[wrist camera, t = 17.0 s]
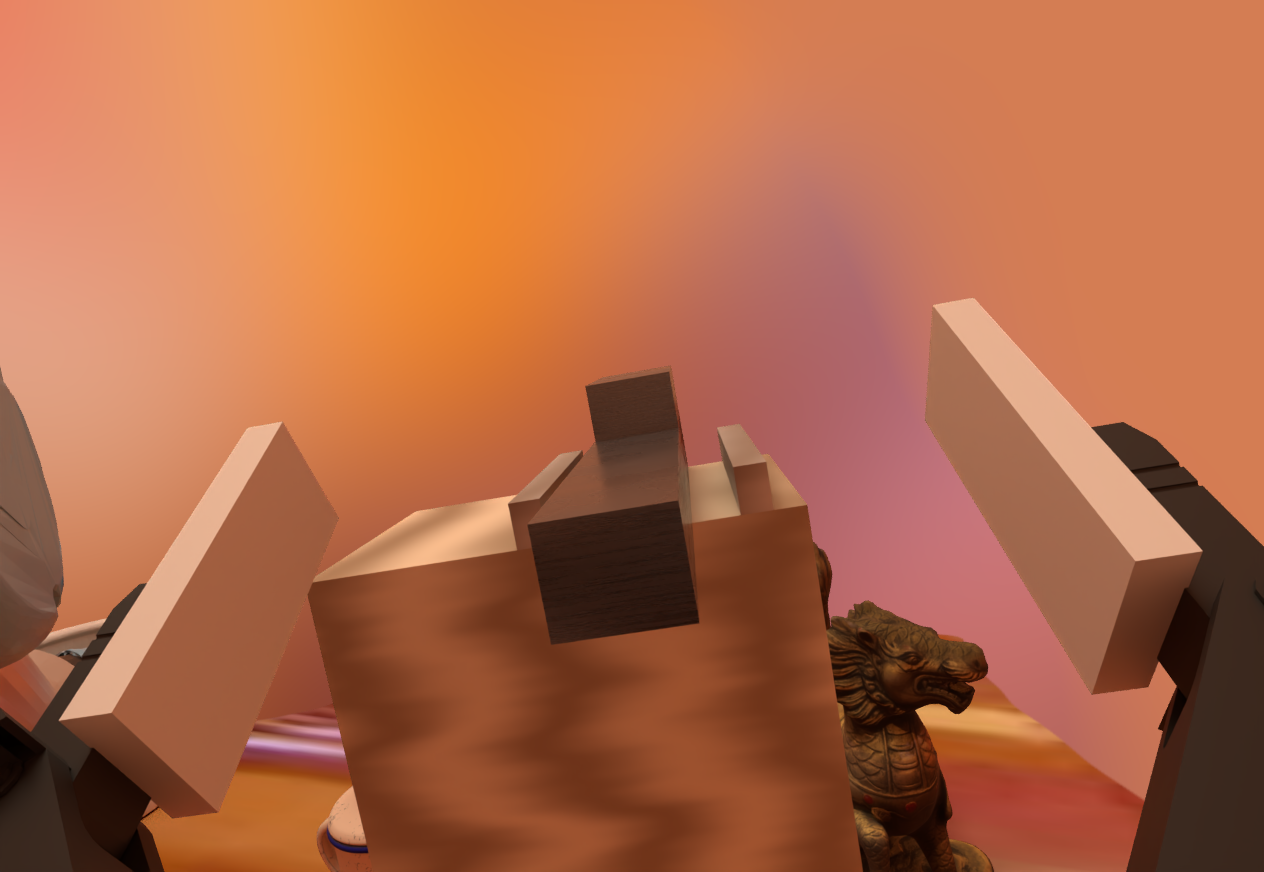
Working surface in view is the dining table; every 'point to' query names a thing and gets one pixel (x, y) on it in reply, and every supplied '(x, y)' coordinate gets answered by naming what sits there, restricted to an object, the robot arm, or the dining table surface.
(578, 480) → the dark wood beam
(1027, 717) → the dining table surface
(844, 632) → the figurine
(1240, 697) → the robot arm
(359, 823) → the teacup with lid
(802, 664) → the stand
